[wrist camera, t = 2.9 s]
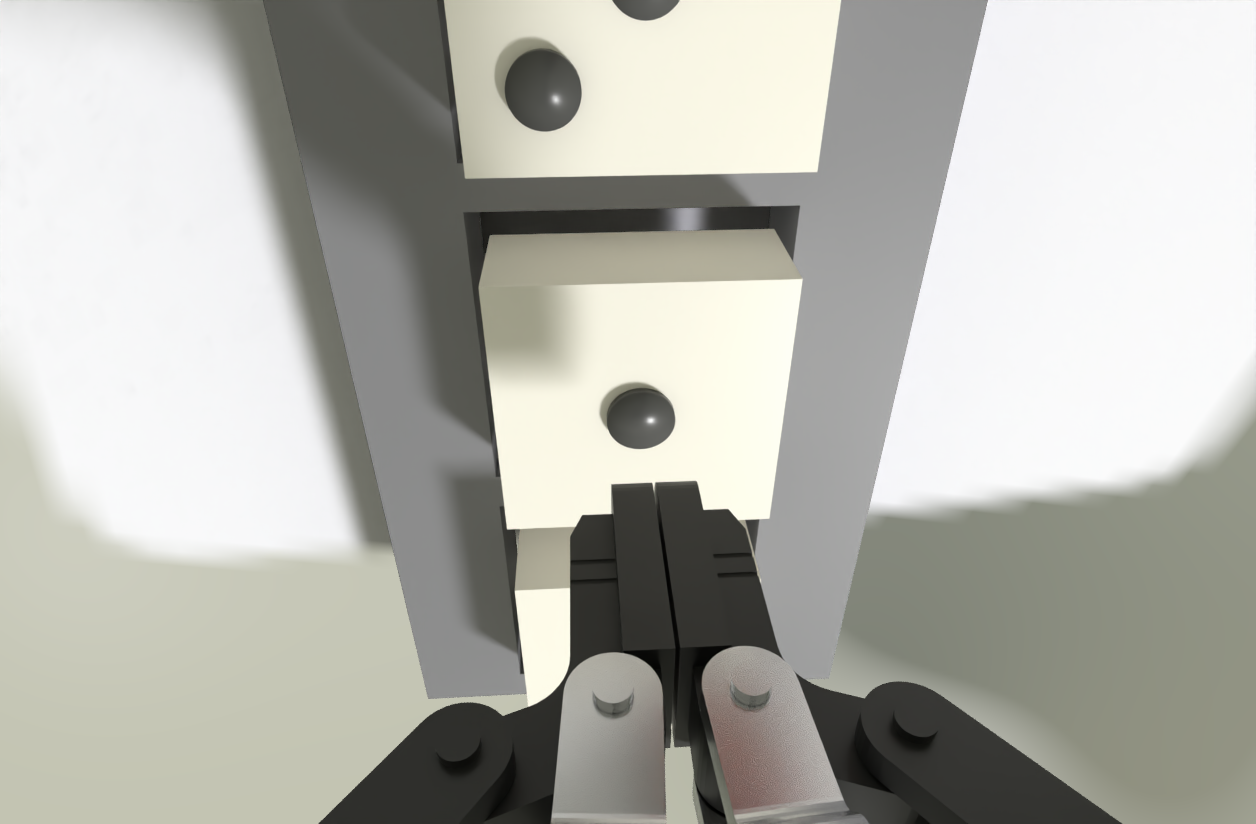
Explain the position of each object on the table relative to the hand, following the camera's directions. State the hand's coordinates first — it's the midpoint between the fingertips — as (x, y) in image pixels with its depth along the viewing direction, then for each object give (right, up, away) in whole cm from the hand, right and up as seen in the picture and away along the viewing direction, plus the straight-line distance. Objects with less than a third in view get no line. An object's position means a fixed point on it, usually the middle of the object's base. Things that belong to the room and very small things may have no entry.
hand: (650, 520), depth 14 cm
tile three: (0, +10, 0) cm, 10 cm away
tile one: (0, +3, +4) cm, 5 cm away
